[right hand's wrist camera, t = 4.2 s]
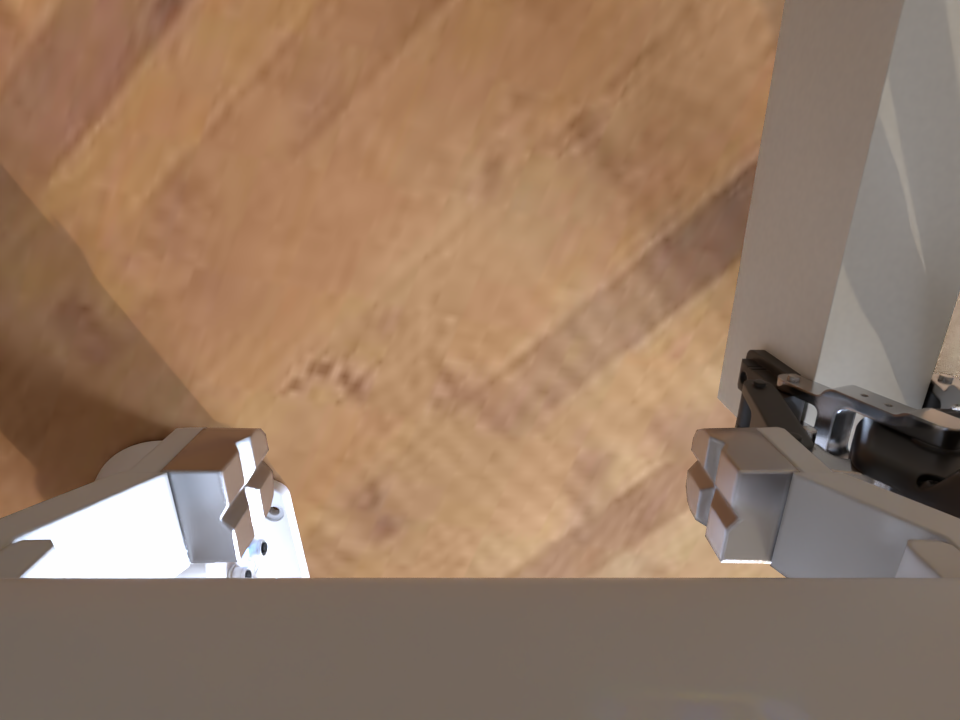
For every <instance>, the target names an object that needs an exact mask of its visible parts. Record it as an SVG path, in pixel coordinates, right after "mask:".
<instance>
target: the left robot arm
mask: <svg viewBox="0 0 960 720" xmlns="http://www.w3.org/2000/svg"><path fill="white" fill-rule="evenodd" d="M737 385H738V389H739V390H740V391H741V392H742V394H741V399H740V404H739V409H738V415H737V420H736V426H735V428H750V427H755V428H763V427H780V428H783V429H785V430H786V431H788V432H789V433H790V434H791V435H792V436H793V437H794V438H795V439H796V440H798V441H799V442H800V443H801V444H802V445H803V446H804V447H805V448H807V449H808V450H809V451H810V452H811V453H812V454H813V455H814V456H815V457H817V458H818V459H819V460H820V461H821V462H822V463H823V464H824V465H826V466H827V467H828V468H829V469H830V470H831V471H832V472H843V473H845V474H848V475H850V476H853V477H855V478H858V479H860V480H863V481H865V482H868V483H871V484H873V485H876V486H878V487H881V488H883V489H886V490H888V491H891V492H893V493H896V494H898V495H901V496H904V497H906V498H909V499H911V500H914V501H916V502H919V503H921V504H924V505H926V506H929V507H931V508H934V509H936V510H939V511H942V512H944V513H947V514H949V515H952V516H954V517H957V518H959V519H960V379H959V378H956V377H954V376H952V375H949V374H944V373H941V374H933V375H932V378H931V381H930V384H929V387H928V391H927V394H926V397H925V400H924V403H923V406H922V409H914V408H912V407H909V406H907V405H904V404H902V403H899V402H897V401H894V400H891V399H889V398H886V397H884V396H881V395H879V394H876V393H873V392H871V391H868V390H866V389H863V388H861V387H858V386H855V385H847V386H842V387H837V388H829V387H827V386H824V385H822V384H820V383H817V382H815V381H812V380H810V379H808V378H805V377H803V376H801V375H800V374H799V373H798V372H796V371H795V370H793V369H792V368H790V367H789V366H787V365H786V364H784V363H783V362H781V361H780V360H779V359H777V358H776V357H774V356H773V355H771V354H770V353H768V352H767V351H765V350H749V351H748V353H747V355H746V359H742V362H741V367H740V373H739V378H738V384H737ZM805 402H807V403H810V404H812V405H813V406H814V407H815V408H816V410H817V417H816V421H815V425H814V427H813V426H811V425H809V424H807V423H805V422H803V421H801V416H802V412H803V408H804V404H805ZM856 413H858V414H860V415H863V416H865V417H864V418H863V419H861V420H860V421H859V423H858V424H857V426H856V429H855V433H854V436H853V440H852V443H851V447H850V451H849V449H848V442H849V438H850V435H851V431H852V427H853V424H854V420H855V417H856Z"/></svg>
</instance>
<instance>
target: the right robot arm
mask: <svg viewBox="0 0 960 720" xmlns="http://www.w3.org/2000/svg"><path fill="white" fill-rule="evenodd" d="M268 450H269V448H268V443H267V438H266V434H265V433H264V432H263V430H262V429H258V428H207V427H188V428H176V429H175V430H174V431H173V432H172V433H170V434H169V435H168V436H167V437H166V438H165V439H164V440H163V441H150V442H144V443H140V444H136V445H133V446H130V447H128V448H126V449H124V450H122V451H120V452H118V453H117V454H116V455H114V456H113V457H112V458H110V459H109V460H108V461H107V462H106V463H105V465H104V466H103V467H102V469H101V470H100V472H99V473H98V475H97V477H96V479H95V481H94V482H92V483H89V484H87V485H84V486H82V487H79V488H77V489H74V490H72V491H69V492H67V493H64V494H61V495H59V496H56V497H54V498H51V499H49V500H46V501H44V502H41V503H39V504H36V505H33V506H31V507H28V508H26V509H23V510H21V511H18V512H16V513H13V514H11V515H8V516H5V517H3V518H0V720H960V519H959V518H957V517H954V516H952V515H949V514H947V513H944V512H942V511H939V510H936V509H934V508H931V507H929V506H926V505H924V504H921V503H919V502H916V501H914V500H911V499H909V498H906V497H904V496H901V495H898V494H896V493H893V492H891V491H888V490H886V489H883V488H881V487H878V486H876V485H873V484H871V483H868V482H865V481H863V480H860V479H858V478H855V477H853V476H850V475H848V474H845V473H843V472H832V471H831V470H830V469H829V468H828V467H827V466H826V465H824V464H823V463H822V462H821V461H820V460H819V459H818V458H817V457H815V456H814V455H813V454H812V453H811V452H810V451H809V450H808V449H807V448H805V447H804V446H803V445H802V444H801V443H800V442H799V441H798V440H796V439H795V438H794V437H793V436H792V435H791V434H790V433H789V432H788V431H786V430H785V429H783V428H780V427H763V428H755V427H750V428H708V429H699V430H697V431H696V433H695V435H694V437H693V442H692V448H691V450H692V452H693V454H694V455H695V457H696V458H697V461H696V462H695V463H694V464H693V465H692V467H691V468H690V469H689V470H688V473H687V480H686V493H687V501H688V505H689V508H690V511H691V513H692V514H693V516H694V518H695V520H697V521H698V522H700V523H702V524H703V525H705V526H706V527H707V529H706V534H705V537H706V538H707V540H708V542H709V543H710V545H711V547H712V548H713V550H714V552H715V553H716V555H717V557H718V558H719V560H720V562H731V563H768V564H771V565H770V566H771V567H773V568H774V569H775V570H777V571H778V572H780V573H781V574H782V575H784V576H785V577H786V578H310V577H309V573H308V568H307V564H306V560H305V556H304V551H303V547H302V543H301V539H300V534H299V530H298V526H297V521H296V517H295V513H294V509H293V504H292V500H291V496H290V492H289V490H288V488H287V487H286V486H285V485H284V484H282V483H280V482H278V481H276V480H274V479H273V472H272V470H271V469H270V468H269V467H268V465H267V464H266V463H265V462H264V461H263V458H264V457H265V455H266V454H267V452H268ZM273 507H277V508H278V509H279V510H276V509H274V508H273Z"/></svg>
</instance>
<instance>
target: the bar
mask: <svg viewBox="0 0 960 720" xmlns="http://www.w3.org/2000/svg"><path fill="white" fill-rule="evenodd" d="M959 291H960V0H785V3H784V9H783V15H782V21H781V27H780V33H779V39H778V44H777V50H776V56H775V62H774V68H773V74H772V80H771V86H770V92H769V97H768V103H767V109H766V115H765V121H764V127H763V133H762V139H761V144H760V150H759V156H758V162H757V168H756V174H755V180H754V186H753V191H752V197H751V203H750V209H749V215H748V221H747V227H746V233H745V238H744V244H743V250H742V256H741V262H740V268H739V274H738V280H737V285H736V291H735V297H734V303H733V309H732V315H731V321H730V327H729V332H728V338H727V344H726V350H725V356H724V362H723V368H722V374H721V379H720V385H719V391H718V399H719V400H720V401H721V402H722V403H723V404H724V405H725V406H726V407H727V408H728V409H729V410H730V411H731V412H732V413H733V414H734V415H735V416H736V417H737V415H738V409H739V404H740V399H741V394H742V392H741V391H740V390H739V389H738V385H737V384H738V378H739V373H740V367H741V362H742V359H746V355H747V353H748V351H749V350H765V351H767V352H768V353H770V354H771V355H773V356H774V357H776V358H777V359H779V360H780V361H781V362H783V363H784V364H786V365H787V366H789V367H790V368H792V369H793V370H795V371H796V372H798V373H799V374H800V375H801V376H803V377H805V378H808V379H810V380H812V381H815V382H817V383H820V384H822V385H824V386H827V387H829V388H837V387H842V386H847V385H855V386H858V387H861V388H863V389H866V390H868V391H871V392H873V393H876V394H879V395H881V396H884V397H886V398H889V399H891V400H894V401H897V402H899V403H902V404H904V405H907V406H909V407H912V408H914V409H922V406H923V403H924V400H925V397H926V394H927V391H928V387H929V384H930V381H931V378H932V375H933V372H934V369H935V366H936V363H937V360H938V356H939V353H940V350H941V347H942V344H943V341H944V338H945V335H946V332H947V328H948V325H949V322H950V319H951V316H952V313H953V310H954V307H955V304H956V301H957V297H958V294H959ZM816 417H817V410H816V408H815V407H814V406H813V405H812V404H810V403H807V402H805V404H804V408H803V412H802V416H801V421H803V422H805V423H807V424H809V425H811V426H813V427H814V425H815V421H816ZM864 417H865V416H863V415H860V414H858V413H856V417H855V420H854V424H853V427H852V431H851V435H850V438H849V442H848V449H849V451H850V447H851V443H852V440H853V436H854V433H855V429H856V426H857V424H858V423H859V421H860V420H861V419H863V418H864Z"/></svg>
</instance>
